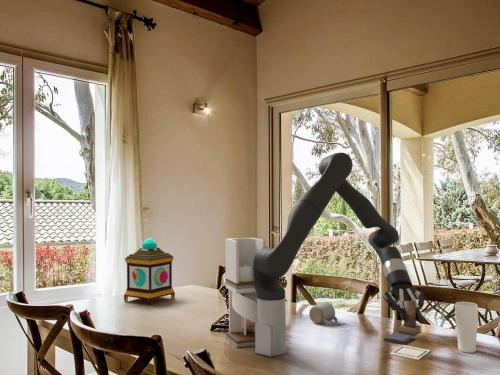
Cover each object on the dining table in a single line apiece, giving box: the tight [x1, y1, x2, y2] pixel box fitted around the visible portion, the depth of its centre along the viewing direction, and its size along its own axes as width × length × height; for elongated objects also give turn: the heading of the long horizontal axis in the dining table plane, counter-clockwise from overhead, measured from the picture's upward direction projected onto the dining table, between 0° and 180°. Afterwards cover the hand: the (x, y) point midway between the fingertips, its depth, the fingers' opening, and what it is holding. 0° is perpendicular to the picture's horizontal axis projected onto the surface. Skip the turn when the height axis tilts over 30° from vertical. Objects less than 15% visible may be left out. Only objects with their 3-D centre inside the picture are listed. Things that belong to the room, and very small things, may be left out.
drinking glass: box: [454, 301, 479, 354], centre depth 158 cm, size 7×7×15 cm
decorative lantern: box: [123, 237, 176, 306], centre depth 238 cm, size 20×20×30 cm
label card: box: [389, 344, 432, 361], centre depth 157 cm, size 11×9×1 cm
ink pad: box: [383, 332, 415, 346], centre depth 171 cm, size 9×7×1 cm
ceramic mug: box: [308, 301, 339, 327], centre depth 194 cm, size 11×8×8 cm
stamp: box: [398, 300, 422, 337], centre depth 157 cm, size 5×5×10 cm
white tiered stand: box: [224, 237, 267, 348], centre depth 171 cm, size 11×11×35 cm
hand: (412, 320), depth 155 cm, fingers closed on stamp, 3 cm apart
